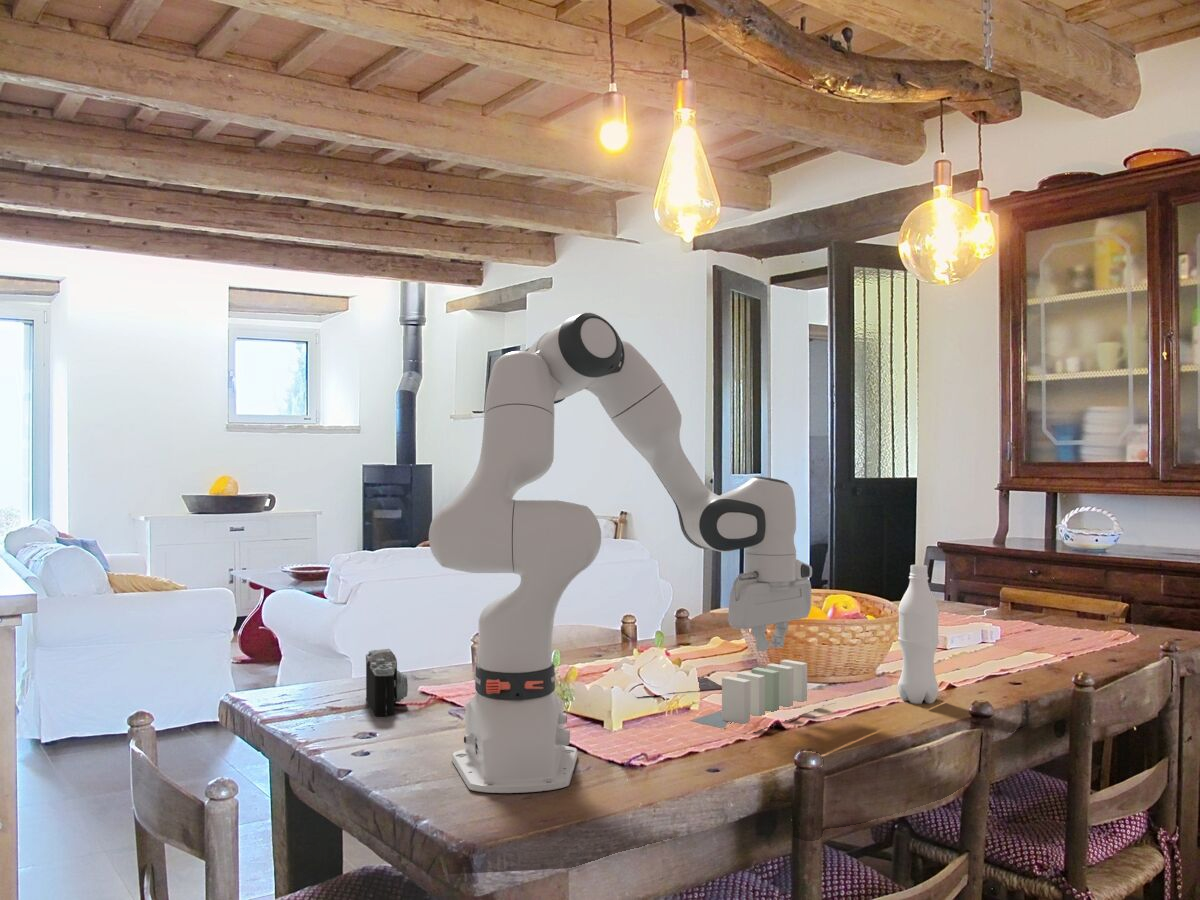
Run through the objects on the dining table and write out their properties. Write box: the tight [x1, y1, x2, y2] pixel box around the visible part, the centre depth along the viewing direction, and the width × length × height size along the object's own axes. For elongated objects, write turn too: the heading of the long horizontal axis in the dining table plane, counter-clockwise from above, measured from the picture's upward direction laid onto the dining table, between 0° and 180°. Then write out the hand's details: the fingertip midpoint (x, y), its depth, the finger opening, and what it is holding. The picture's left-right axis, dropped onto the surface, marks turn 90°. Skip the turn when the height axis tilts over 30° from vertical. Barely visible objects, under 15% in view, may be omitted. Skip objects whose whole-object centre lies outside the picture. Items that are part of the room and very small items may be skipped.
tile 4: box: [765, 663, 794, 707], centre depth 186 cm, size 2×5×7 cm, turn 47°
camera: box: [365, 648, 409, 719], centre depth 187 cm, size 15×7×10 cm, turn 20°
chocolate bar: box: [697, 677, 722, 692], centre depth 200 cm, size 9×1×18 cm
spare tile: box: [751, 666, 779, 712], centre depth 183 cm, size 2×5×7 cm, turn 46°
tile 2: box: [736, 671, 765, 716], centre depth 180 cm, size 2×5×7 cm, turn 47°
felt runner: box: [689, 709, 777, 729], centre depth 183 cm, size 28×12×1 cm, turn 137°
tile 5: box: [779, 658, 808, 702], centre depth 190 cm, size 2×5×7 cm, turn 47°
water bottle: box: [897, 564, 940, 705], centre depth 191 cm, size 7×7×25 cm
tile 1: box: [721, 675, 751, 724], centre depth 176 cm, size 2×5×7 cm, turn 47°
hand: (770, 649), depth 182 cm, fingers open, 3 cm apart
